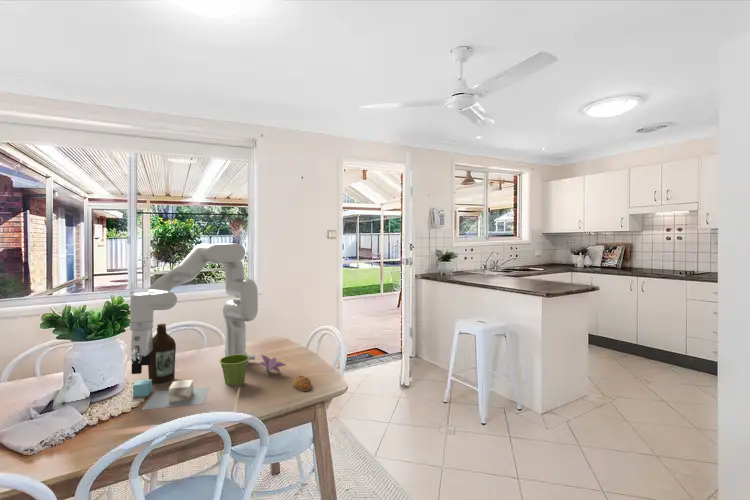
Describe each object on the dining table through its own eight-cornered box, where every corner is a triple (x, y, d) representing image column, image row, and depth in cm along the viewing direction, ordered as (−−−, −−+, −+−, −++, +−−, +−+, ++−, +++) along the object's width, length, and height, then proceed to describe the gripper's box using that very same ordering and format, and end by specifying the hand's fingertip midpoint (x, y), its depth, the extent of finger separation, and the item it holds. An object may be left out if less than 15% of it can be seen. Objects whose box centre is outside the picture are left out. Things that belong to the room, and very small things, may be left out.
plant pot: (219, 381, 159) (219, 356, 158) (248, 378, 163) (248, 353, 163) (219, 392, 148) (219, 365, 148) (250, 388, 153) (250, 361, 152)
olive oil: (143, 382, 157) (143, 324, 156) (170, 375, 165) (170, 320, 164) (152, 389, 150) (152, 328, 149) (180, 382, 158) (179, 324, 157)
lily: (288, 378, 166) (290, 357, 170) (267, 375, 157) (270, 352, 162) (270, 381, 172) (272, 360, 177) (249, 378, 164) (252, 356, 168)
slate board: (210, 390, 150) (210, 386, 150) (203, 407, 135) (203, 403, 135) (155, 395, 145) (155, 391, 145) (141, 414, 130) (141, 409, 130)
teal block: (152, 394, 146) (151, 379, 146) (148, 399, 141) (147, 384, 141) (137, 395, 145) (137, 380, 144) (133, 400, 140) (133, 385, 140)
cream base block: (193, 392, 144) (193, 379, 144) (189, 400, 138) (189, 386, 138) (173, 394, 143) (173, 381, 142) (168, 402, 136) (168, 388, 136)
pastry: (315, 390, 152) (315, 381, 152) (300, 394, 149) (299, 384, 148) (306, 382, 160) (306, 373, 160) (291, 385, 156) (291, 377, 156)
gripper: (145, 329, 134) (144, 376, 135) (159, 320, 151) (158, 361, 151) (121, 330, 132) (121, 378, 133) (138, 320, 149) (137, 362, 149)
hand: (141, 369), depth 142 cm, fingers open, 9 cm apart
